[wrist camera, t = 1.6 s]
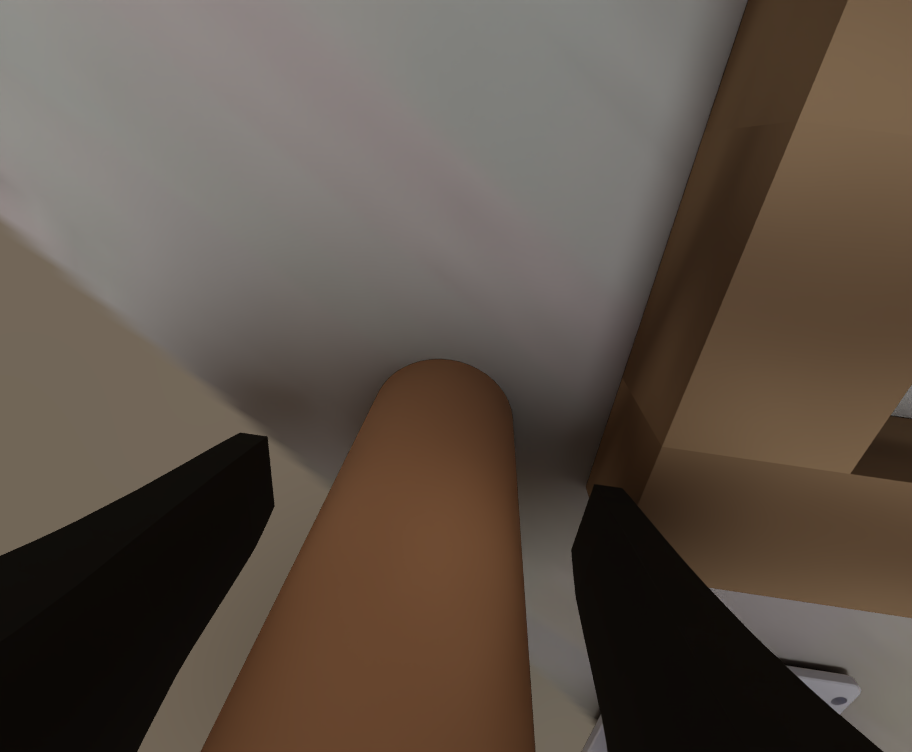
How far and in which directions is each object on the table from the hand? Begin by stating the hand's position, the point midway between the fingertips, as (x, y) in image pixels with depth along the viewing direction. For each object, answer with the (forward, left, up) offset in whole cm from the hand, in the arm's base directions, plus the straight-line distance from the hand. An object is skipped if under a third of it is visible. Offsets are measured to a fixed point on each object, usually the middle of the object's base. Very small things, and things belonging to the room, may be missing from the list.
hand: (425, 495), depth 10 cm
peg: (0, 0, -3) cm, 3 cm away
